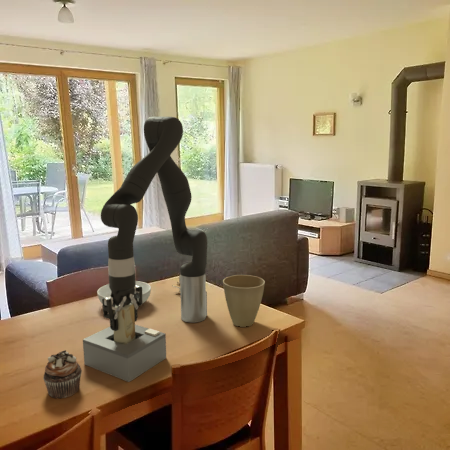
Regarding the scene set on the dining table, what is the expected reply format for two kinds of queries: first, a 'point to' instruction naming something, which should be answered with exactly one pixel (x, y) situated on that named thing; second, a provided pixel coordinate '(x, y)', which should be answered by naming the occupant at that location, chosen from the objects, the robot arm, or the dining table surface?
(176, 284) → the architectural model
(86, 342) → the grey square box
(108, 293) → the serving bowl
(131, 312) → the skincare box
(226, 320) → the dining table surface
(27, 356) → the dining table surface
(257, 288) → the plant pot
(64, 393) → the cupcake
